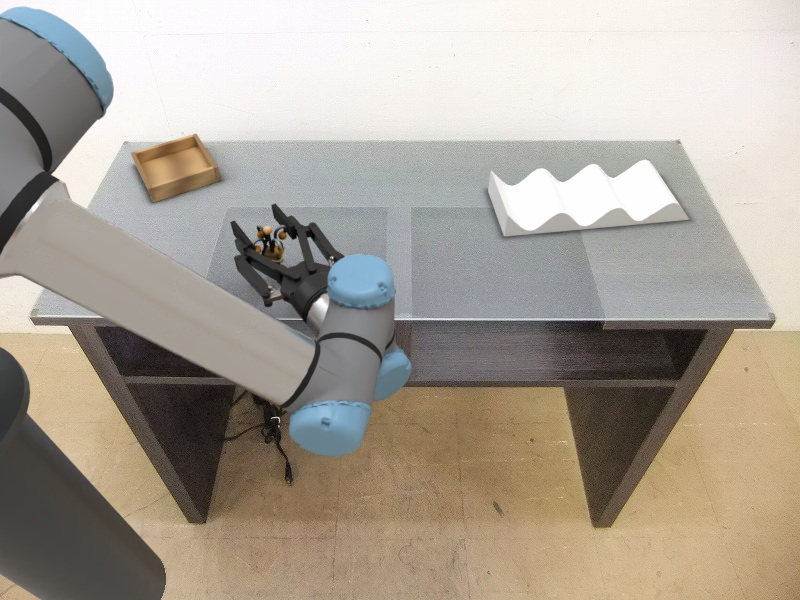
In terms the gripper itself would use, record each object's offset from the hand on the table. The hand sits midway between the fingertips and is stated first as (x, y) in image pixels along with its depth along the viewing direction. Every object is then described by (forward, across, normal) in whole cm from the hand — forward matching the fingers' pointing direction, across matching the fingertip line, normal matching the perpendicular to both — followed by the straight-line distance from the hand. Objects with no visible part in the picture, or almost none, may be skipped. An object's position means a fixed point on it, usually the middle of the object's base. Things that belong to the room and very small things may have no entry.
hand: (254, 219), depth 95 cm
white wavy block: (-21, +57, -10) cm, 62 cm away
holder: (+34, -2, -11) cm, 36 cm away
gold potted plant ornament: (-5, 0, -6) cm, 8 cm away
